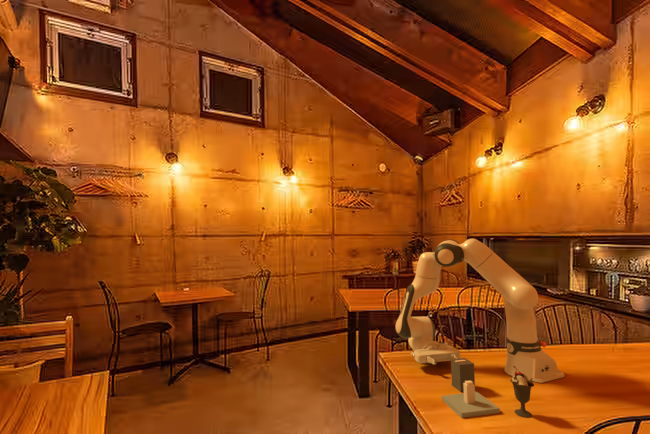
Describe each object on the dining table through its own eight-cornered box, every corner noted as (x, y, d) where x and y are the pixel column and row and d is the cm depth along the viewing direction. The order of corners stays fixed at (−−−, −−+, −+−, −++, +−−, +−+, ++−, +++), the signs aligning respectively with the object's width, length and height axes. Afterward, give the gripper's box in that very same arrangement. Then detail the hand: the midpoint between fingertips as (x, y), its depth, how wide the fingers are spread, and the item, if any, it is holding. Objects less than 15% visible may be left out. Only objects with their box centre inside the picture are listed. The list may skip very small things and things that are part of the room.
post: (477, 395, 122) (476, 372, 123) (499, 412, 110) (498, 387, 111) (442, 400, 120) (441, 376, 120) (461, 417, 108) (460, 391, 108)
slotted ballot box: (465, 383, 132) (464, 357, 133) (475, 390, 127) (473, 362, 127) (451, 385, 131) (450, 358, 132) (460, 392, 125) (459, 364, 126)
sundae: (507, 409, 113) (505, 363, 114) (525, 407, 113) (523, 362, 114) (520, 419, 106) (517, 371, 107) (539, 418, 107) (537, 370, 108)
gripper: (408, 345, 153) (422, 356, 139) (449, 342, 157) (467, 352, 143) (409, 359, 152) (423, 371, 139) (449, 355, 156) (467, 367, 143)
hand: (446, 361), depth 141 cm, fingers open, 8 cm apart
